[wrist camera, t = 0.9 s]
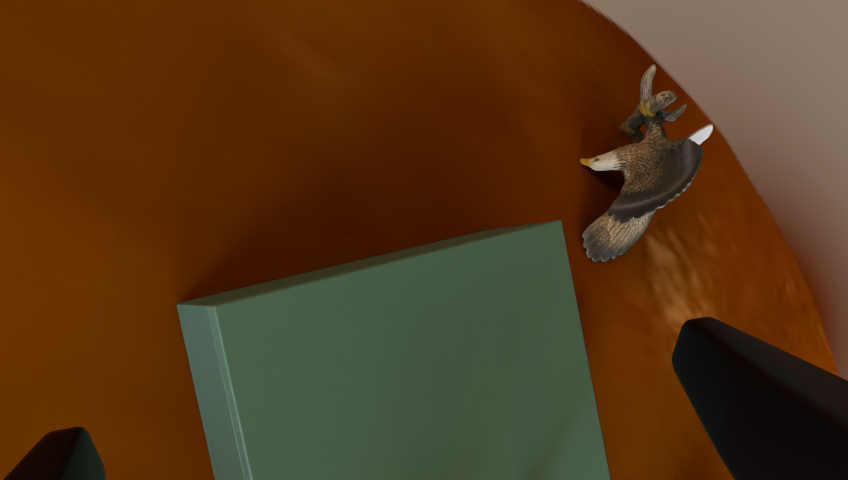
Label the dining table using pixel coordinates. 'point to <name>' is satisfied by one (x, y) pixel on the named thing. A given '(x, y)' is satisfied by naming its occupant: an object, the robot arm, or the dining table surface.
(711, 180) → the dining table surface
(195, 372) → the keepsake box
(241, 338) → the box lid
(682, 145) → the eagle figurine
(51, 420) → the dining table surface
